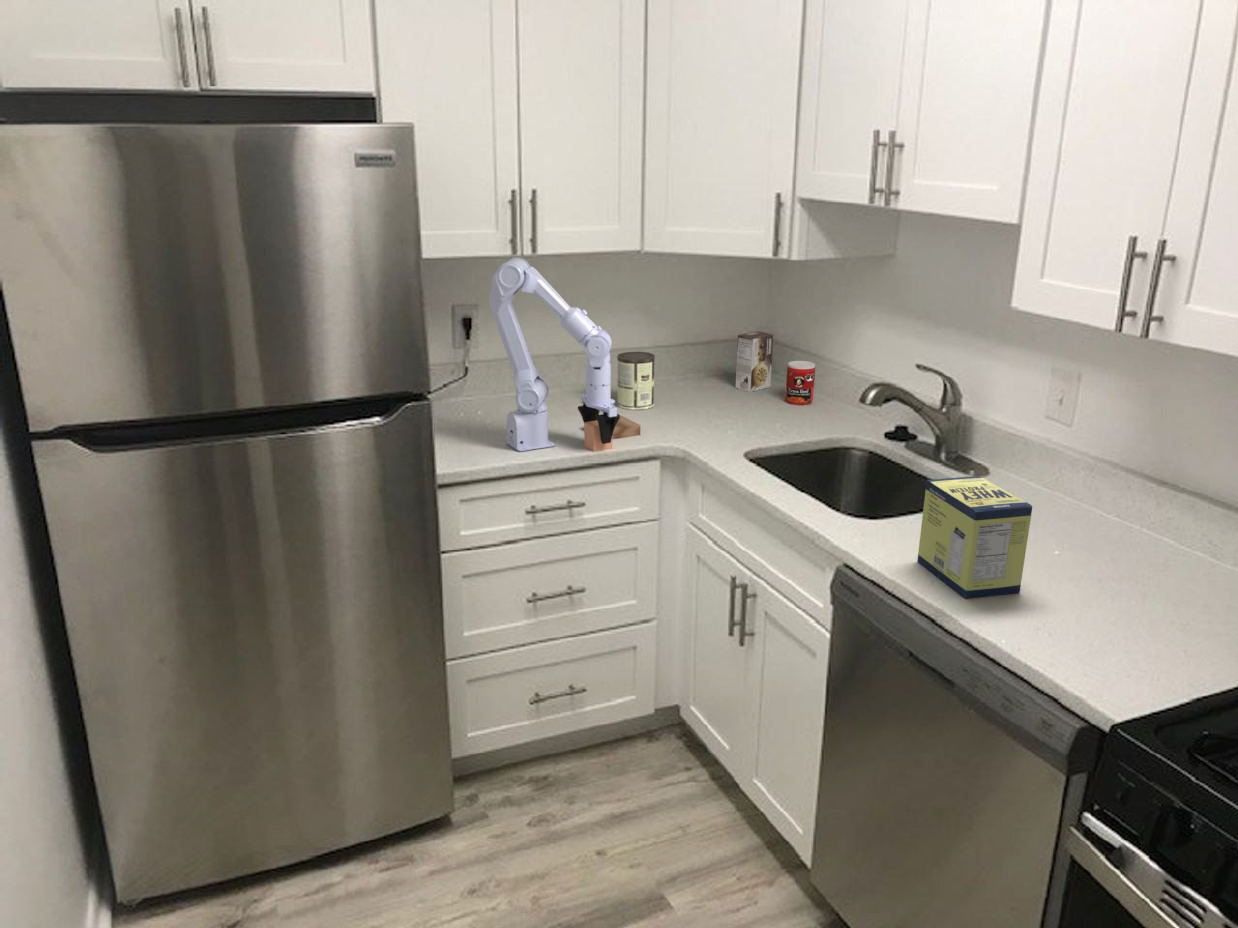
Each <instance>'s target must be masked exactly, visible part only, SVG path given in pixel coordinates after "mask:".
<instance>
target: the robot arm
mask: <svg viewBox="0 0 1238 928" xmlns="http://www.w3.org/2000/svg"><path fill="white" fill-rule="evenodd" d="M521 288H522V289H521ZM520 289H521V293H528V294H533V295H536V296H537V297H538V298H539V299H540V300H542V302H543V303H545V304H546V306H548V307H549V308H550V309H551V310H552V311H553V312H555V314H556V315H558V317H560V324H561V325H560V326H561V327H562V328H563V329H564V330H565V331H566V332H567V333H569V335H570V336H571V337H573V339H574V340H575V341H576V342H577V343H578V345H580V346H583V351H584V353H585V355H586V365H585V367H586V369H585V371H586V373H585V374H586V382H585V383H586V384H585V385H586V387H585V388H586V393H585V394H581V395H580V402H581V404H582V405H579V406H577V410H578V412H579V414H580V416H581V418H582V421H583V423H584V422H589V421H596V420H597V421H598V424H599V428H600V437H601V442H602V444H606V443H611V439H612V435H613V431H614V428H615V426H616V424H617V422H618V420H619V419H620V414H619V413H618V408H617V407H615V405H614V404H615V403H616V400H615V399H613V398H612V397H611V394H612V393H611V385H612V384H611V383H612V380H611V379H612V378H611V377H612V376H611V375H612V374H611V373H612V371H611V370H612V368H611V367H612V366H611V354H610V352H611V349H612V346H613V345H612V343H613V342H612V338H611V336H610V335H609V333H608V331H606V330H604V329H602V327H601V325H598V326H597V324H595V323H594V322H593V320H592V319H590V318H589V316H587V315H588V312H587V311H586V309H581V308H580V307H573V306H570V305H569V304H568V303H567V302H566V300H565V299H563V297H562V296H561V295H560V294H559V293H558V292H557V291H556V290H555V288H554V287H553V286H552V285H551V284H550V283H549V282H548V281H547V280H546V279H545V277H543V276H542V274H541V273H540V272H539V271H538V270H537V269H536V268H535V267H533V266H530V263H529V262H528V261H527V260H526V259H523V258H521V257H513V258H510V259H509V260H508V261H505V262H504V263H502V264H500V265H499V267H498V268H497V270H496V271H495V273H494V274H493V276H492V284H491V289H490V293H489V298H488V304H489V306H490V310H491V313H492V316H493V318H494V319H493V320H495V324H496V327H497V330H498V333H499V335H500V339H501V341H502V345H503V347H504V351H506V352H505V353H506V356H507V358H508V360H509V363H510V367H511V369H512V372H513V378H514V380H513V381H514V382H513V384H514V385H513V386H514V388H515V393H516V394H515V402H516V405H517V407H516V408H517V409H516V410H515V409H514V410H513V411H510V412H508V414H507V416H506V436H507V437H506V439H507V440H506V441H505V443H506V444H507V445H509V446H510V447H512V448H513V449H515V450H516V451H518V452H523V451H524V452H525V451H531V450H538V449H544V448H550V447H555V445H556V444H555V443H554V442H552V441H550V440H549V422H548V421H549V416H548V415H549V414H548V413H549V411H548V409H549V407H548V405H547V404H546V401H545V400H546V398H547V397H548V395H549V386H548V384H547V382H546V381H545V380H544V379H543V377H541V375H540V373H539V370H538V369H537V368H536V366H535V365H534V363H533V359H532V357H531V354H530V350H529V347H528V345H527V342H526V339H525V337H524V333H523V330H522V328H521V324H520V322H519V319H518V316H517V313H516V310H515V308H514V307H515V306H514V305H513V304H514V303H513V301H515V300H514V299H515V298H516V295H517V294H518V292H519V290H520ZM600 412H601V413H602V414H600Z"/></svg>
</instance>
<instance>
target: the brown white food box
mask: <svg viewBox="0 0 1238 928" xmlns="http://www.w3.org/2000/svg"><path fill="white" fill-rule="evenodd" d="M773 346H774V334H772V333H768V332H765V331H760V330H759V331H758V330H757V331H753V332H752V331H751V332H747V333H742V334H738V335H737V348H736V352H737V353H736V367H735V368H736V369H735V370H736V371H735V372H736V373H735V389H737V388H738V390H742V391H745V392H748V393H752V392H756V391H761V390H764V389H768V388H771V384H772V369H773V368H772V366H773V365H772V364H773Z"/></svg>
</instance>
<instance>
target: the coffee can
mask: <svg viewBox="0 0 1238 928" xmlns="http://www.w3.org/2000/svg"><path fill="white" fill-rule="evenodd" d="M655 359H656V356H655V354H653V353H650V352H645V351H625V352H621V353H618V354H617V407H619V408H621V409H625V410H630V411H631V410H633V411H634V410H635V411H642V410H649V409H651V408H653V407H654V406H655V404H654V403H655V402H654V401H655V400H654V399H655Z"/></svg>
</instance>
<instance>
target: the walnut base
mask: <svg viewBox="0 0 1238 928" xmlns="http://www.w3.org/2000/svg"><path fill="white" fill-rule="evenodd" d="M619 415H620V414H619ZM636 436H637V437H638V436H641V424H639V423H636V422H635V421H633V420H631V419H629V418H627V417H625V416H623V415H620V419H619V420H618V422H617V424H616V426H615V428H614V431H613V440H618V439H625V438H630V437H636Z"/></svg>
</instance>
